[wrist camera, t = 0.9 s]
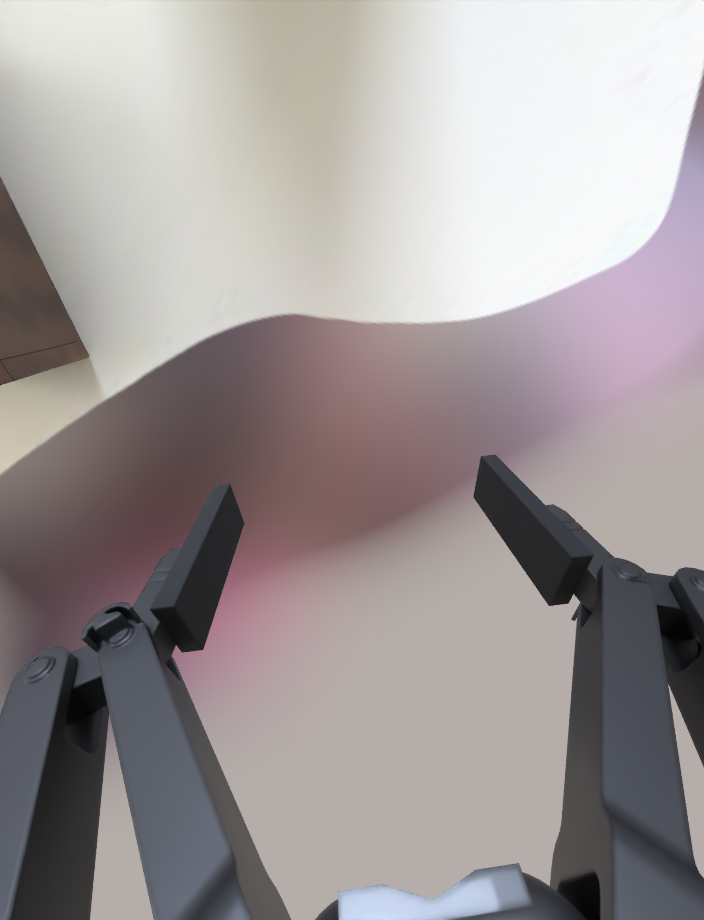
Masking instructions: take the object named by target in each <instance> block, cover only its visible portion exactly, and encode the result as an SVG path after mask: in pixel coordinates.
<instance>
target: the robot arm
mask: <svg viewBox="0 0 704 920" xmlns="http://www.w3.org/2000/svg"><path fill="white" fill-rule="evenodd" d="M474 498H475V500H476V501H477V503H478V504H479V506H480V507H481V509H482V510H483V511H484V513H485V514H486V516H487V517H488V519H489V520H490V522H491V523H492V525H493V526H494V527H495V529H496V530H497V532H498V533H499V535H500V536H501V538H502V539H503V540H504V542H505V543H506V545H507V546H508V548H509V549H510V550H511V552H512V553H513V555H514V556H515V557H516V559H517V561H518V562H519V563H520V565H521V566H522V568H523V569H524V571H525V572H526V574H527V575H528V576H529V578H530V579H531V581H532V582H533V583H534V585H535V586H536V588H537V589H538V591H539V592H540V594H541V595H542V597H543V598H544V599H545V601H546V602H547V603H548V605H549V606H552V605H560V604H568V603H569V601H570V600H571V598H572V595H573V594H574V595H575V596H576V597H577V598H578V600H579V601H580V604H579V606H578V608H577V609H576V611H575V613H574V615H573V617H572V620H574V621H575V620H576V618H577V628H576V640H575V653H574V666H573V679H572V692H571V706H570V719H569V731H568V732H569V733H568V745H567V757H566V771H565V784H564V797H563V810H562V821H561V828H560V832H559V836H558V838H557V841H556V844H555V849H554V853H553V860H552V868H551V880H550V886H548V885H547V884H545V883H544V882H542V881H541V880H539V879H537V878H535V877H533V876H531V875H529V874H526V873H523V872H522V871H521V868H520V865H519V863H517V864H511V865H505V866H498V867H491V868H485V869H479V870H475V871H473V872H472V873H470V874H469V875H468V876H466V877H465V878H463V879H462V880H461V881H459V882H458V883H456V884H455V885H453V886H452V887H451V888H450V889H448V890H446V891H445V892H444V893H442V894H441V895H439V896H438V897H436V898H433V899H430V898H426V897H423V896H419V895H416V894H413V893H410V892H406V891H403V890H400V889H396V888H393V887H390V886H386V885H377V886H370V887H364V888H357V889H351V890H345V891H338V899H337V900H336V901H334V902H333V903H331V904H330V905H329V906H328V907H327V908H326V909H325V910H323V911H322V912H321V913H320V914H319V916H318V917H317V918H316V919H315V920H704V878H703V877H702V876H701V875H700V873H699V871H698V869H697V867H696V865H695V860H694V856H693V851H692V843H691V837H690V830H689V823H688V816H687V810H686V803H685V796H684V789H683V783H682V776H681V769H680V762H679V755H678V749H677V742H676V735H675V728H674V722H673V715H672V708H671V701H670V695H669V688H668V684H669V686H670V688H671V691H672V693H673V695H674V698H675V700H676V702H677V705H678V707H679V710H680V712H681V714H682V717H683V719H684V722H685V724H686V726H687V729H688V731H689V733H690V736H691V738H692V740H693V743H694V745H695V748H696V750H697V752H698V755H699V757H700V759H701V761H702V764H703V766H704V571H702V570H699V569H695V568H687V567H685V568H681V569H679V570H678V571H677V572H676V574H675V575H674V576H667V575H660V574H653V573H647V572H645V570H644V569H642V568H641V567H639V566H638V565H636V564H634V563H632V562H630V561H627V560H624V559H620V558H614V557H613V556H612V555H611V554H610V553H609V552H608V551H607V550H606V549H605V548H604V547H602V545H600V544H599V543H598V542H597V541H596V540H595V539H594V538H593V537H592V536H591V535H590V534H589V533H588V532H587V531H586V530H583V528H582V526H581V525H579V524H578V523H576V522H575V520H574V519H573V518H572V517H571V516H570V515H569V514H568V513H567V512H566V511H564V510H562V509H560V508H559V507H557V506H555V505H544V504H543V503H542V501H541V500H539V499H538V497H537V496H536V495H534V493H533V492H532V491H531V490H530V489H528V487H527V486H526V485H525V484H524V483H523V482H522V481H521V480H520V479H519V478H518V477H517V476H516V475H515V474H514V473H513V472H512V471H511V470H510V469H509V468H508V467H507V466H506V465H505V464H504V463H503V462H502V461H501V460H500V459H499V458H498V457H497V456H496V455H489V456H481V460H480V465H479V470H478V475H477V481H476V486H475V492H474ZM243 525H244V521H243V518H242V516H241V513H240V510H239V507H238V505H237V502H236V499H235V497H234V494H233V491H232V488H231V485H230V484H222V485H215V486H214V488H213V489H212V491H211V493H210V495H209V497H208V499H207V501H206V503H205V505H204V506H203V508H202V510H201V512H200V514H199V516H198V518H197V520H196V522H195V524H194V525H193V527H192V529H191V531H190V533H189V535H188V537H187V539H186V541H185V543H184V544H183V546H182V548H177V549H171V550H170V551H169V552H168V553H167V554H166V555H165V556H164V557H162V559H160V561H159V563H158V565H157V566H156V568H155V570H154V573H152V575H151V576H150V578H149V582H147V583H146V585H145V587H144V589H143V590H142V592H141V594H140V596H139V597H138V599H137V601H136V602H135V604H134V606H133V607H132V606H131V605H130V604H129V603H124V602H120V603H115V604H112V605H110V606H108V607H106V608H104V609H102V610H101V611H100V612H98V613H97V614H96V615H94V616H93V618H92V619H91V620H90V621H89V622H88V623H87V624H86V626H85V628H84V629H83V631H82V638H81V639H82V640H83V641H84V642H86V643H87V644H88V646H85V647H83V648H80V649H78V650H75V651H73V652H69V651H68V650H67V649H66V648H64V647H60V646H58V647H57V646H56V647H53V648H50V649H47V650H45V651H43V652H42V653H40V654H38V655H36V656H35V657H34V658H32V659H31V660H30V661H29V662H27V663H26V664H25V665H24V666H23V667H22V669H21V670H20V671H19V672H18V673H17V674H16V676H15V678H14V680H13V681H12V683H11V686H10V689H9V692H8V694H7V697H6V700H5V703H4V706H3V709H2V711H1V714H0V920H90V912H91V902H92V891H93V880H94V869H95V859H96V848H97V836H98V826H99V816H100V805H101V794H102V783H103V772H104V762H105V750H106V740H107V729H108V719H109V714H110V718H111V723H112V728H113V732H114V737H115V741H116V746H117V751H118V755H119V760H120V765H121V770H122V774H123V778H124V783H125V788H126V792H127V797H128V802H129V807H130V811H131V816H132V820H133V825H134V830H135V834H136V839H137V844H138V848H139V853H140V858H141V862H142V867H143V871H144V876H145V881H146V885H147V890H148V895H149V899H150V904H151V909H152V913H153V918H154V920H291V918H290V916H289V914H288V911H287V909H286V907H285V905H284V903H283V901H282V898H281V896H280V895H279V893H278V891H277V889H276V887H275V885H274V884H273V882H272V881H271V879H270V878H269V876H268V874H267V872H266V870H265V868H264V866H263V864H262V861H261V859H260V857H259V854H258V852H257V850H256V848H255V845H254V843H253V841H252V838H251V836H250V833H249V831H248V829H247V827H246V824H245V822H244V820H243V817H242V815H241V813H240V810H239V808H238V806H237V803H236V801H235V799H234V796H233V794H232V792H231V790H230V787H229V785H228V783H227V780H226V778H225V776H224V773H223V771H222V769H221V766H220V764H219V762H218V759H217V757H216V755H215V753H214V750H213V748H212V746H211V744H210V741H209V739H208V737H207V734H206V732H205V729H204V727H203V725H202V722H201V720H200V718H199V716H198V713H197V711H196V709H195V706H194V704H193V702H192V699H191V697H190V695H189V692H188V690H187V688H186V685H185V683H184V681H183V679H182V676H181V674H180V672H179V669H178V667H177V665H176V662H175V660H174V659H173V657H172V653H173V651H174V648H175V646H176V645H177V646H178V648H179V649H180V650H181V652H190V651H197V650H203V649H204V646H205V643H206V640H207V636H208V633H209V630H210V627H211V624H212V621H213V618H214V615H215V611H216V608H217V606H218V603H219V599H220V596H221V593H222V590H223V587H224V584H225V581H226V578H227V575H228V572H229V569H230V565H231V562H232V559H233V556H234V553H235V550H236V547H237V544H238V541H239V538H240V535H241V531H242V528H243Z"/></svg>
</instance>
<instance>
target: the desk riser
mask: <svg viewBox="0 0 704 920" xmlns="http://www.w3.org/2000/svg"><path fill="white" fill-rule="evenodd" d="M87 357H89V355H88V353H87V351H86V349H85V347H84V345H83V343H82V341H81V340H80V338H79V336H78V334H77V332H76V329H75V327H74V325H73V323H72V321H71V319H70V317H69V315H68V313H67V311H66V309H65V307H64V305H63V303H62V301H61V299H60V297H59V295H58V293H57V291H56V289H55V287H54V285H53V283H52V281H51V279H50V277H49V275H48V273H47V271H46V269H45V267H44V265H43V263H42V261H41V259H40V257H39V255H38V253H37V251H36V249H35V247H34V245H33V243H32V240H31V238H30V236H29V234H28V232H27V230H26V228H25V226H24V224H23V222H22V220H21V218H20V216H19V214H18V212H17V210H16V208H15V206H14V204H13V202H12V200H11V198H10V196H9V194H8V192H7V190H6V188H5V186H4V184H3V182H2V180H1V178H0V385H2V384H6V383H9V382H12V381H15V380H18V379H22V378H25V377H28V376H31V375H34V374H37V373H40V372H43V371H47V370H50V369H53V368H56V367H59V366H62V365H65V364H68V363H71V362H75V361H78V360H81V359H84V358H87Z"/></svg>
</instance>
